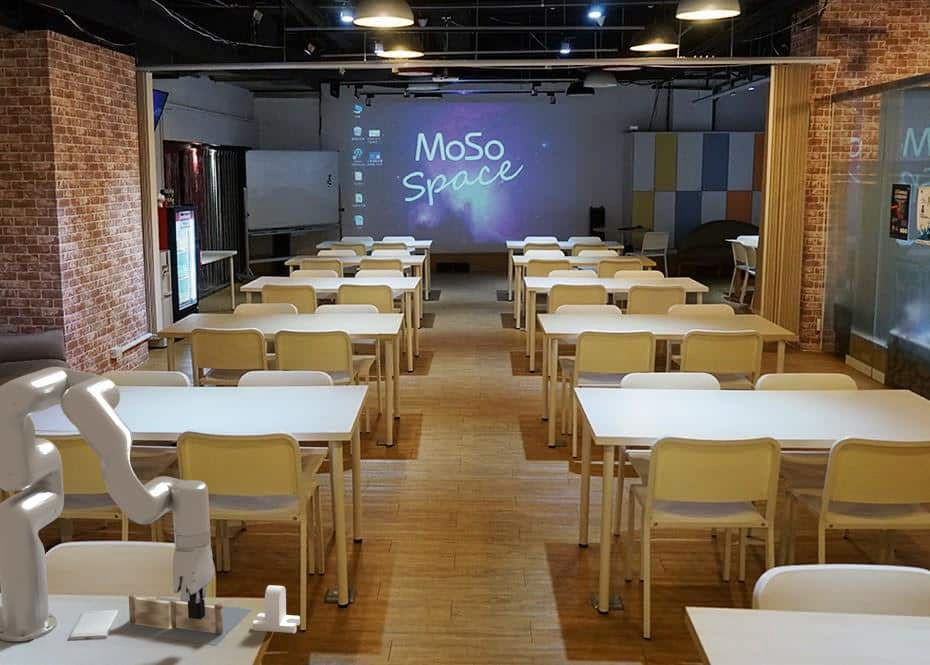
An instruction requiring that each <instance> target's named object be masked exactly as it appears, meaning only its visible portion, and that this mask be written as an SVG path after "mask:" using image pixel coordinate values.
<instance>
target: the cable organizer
mask: <svg viewBox="0 0 930 665" xmlns="http://www.w3.org/2000/svg"><path fill="white" fill-rule="evenodd" d="M286 593H287V590H286V587H285V585H284V586H283V585H270V584H269V585H268V586H267V587H266V589H265V594H264V612H260V613H258V614H257V615H256V619H253V621H252V630H253V631H257V632H258V631H259V632H260V631H262V632H275V633H276V632H277V633H289V634H290V633H292V634H293V635H294V634H296V633H297V626H300V625H301V616H300V615H291V614H287V594H286Z"/></svg>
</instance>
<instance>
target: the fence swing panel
mask: <svg viewBox="0 0 930 665" xmlns="http://www.w3.org/2000/svg"><path fill="white" fill-rule="evenodd" d="M176 600H177V599H175V600H172V601H171V602H170V603H171V627H173V628H174V627H177V628H184V629H191V630H198V631H205V632H212V633H216V634H221V633H223V614H222V607H223V606H224V605H223V603H221V602H220V603H215V604H214V605H215V606H212V605H205V616H204V617H203V618H202V619H191V618H189V617H188V602H182V601H176Z"/></svg>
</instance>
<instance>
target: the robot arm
mask: <svg viewBox="0 0 930 665" xmlns="http://www.w3.org/2000/svg"><path fill="white" fill-rule="evenodd" d="M120 400H121V393H120V389H119V387H118V386H117V384H116V383H115V382H113V380H111V379H110V378H108V377H107V376H103V375H99V374H95V373H91V372H87V371H82V370H81V371H80V370H78V369H74V368H68V367H61V366H50V367H47V368H46V367H45V368H43V369H39V370H37V371H34V372H31V373H28V374H27V373H26V374H25V375H22V376H20V377H17V378H13V379H11V380H10V381H7V382H6V383H3V384H1V385H0V489H1V490H3V491H5V492H8V493H15V494H13V495H11V496H10V497H7V498H6V499H5V500H3V501H2V502H1V503H0V598H1V605H0V640H2V641H5V642H15V643H17V642H27V641H31V640H32V641H33V640H35V639H39V638H41V637H44V636H46V635H48V634H50V633H51V632H52V631H53V630H55V628H56V627H57V624H58V622H57V617H56V616H55V615H54V614H52V613H50V611H49V597H48V596H49V594H48V592H49V591H48V579H47V578H48V577H47V576H48V574H47V561H46V551H45V547H44V544H43V542H42V541H41V539H40V537H39V531H40V530H42V529H43V528H44V527H46V526H47V525H49V524H50V523H52V522H53V521H55V520H57V518H59V516H60V515H61V514H62V512H63V509H64V504H65V502H64V501H65V493H64V473H63V461H62V456H61V453H60V450H59V449H58V448H57V446H56V445H55V444H54V443H53V442H52V441H50V440H48V439H46V438H42V437H36V428H35V424H34V423H33V420H32V418H31V417H30V416H31V415H33V414H36V413H37V414H38V413H40V412H42V411H45V410H47V409H50V408H52V407H55V406H57V405H60V408H61V412H63V415H64V416H65V417H66V418H67V420H68V421H69V422H70V423H71V425H72V426H73V427H74V428H75V429H76V431H77V432H78V433H79V435H81V437H82V438H83V440H85V442H86V443H87V444H88V446H89V447H90V448H91V449H92V451H93V453H95V455H96V456H97V457H98V459H99V463H100V470H101V475H102V479H103V483H104V485H105V489H106V490H107V492H108V494H109V496H110V497H111V499H112V500H113V502H115V504H116V505H117V506H118V508H119V509H120V510H121V511H122V513H123V514H124V515H126V517H127V518H128V519H129V520H131V521H133V522H135V523H136V524H139V525H149V524H151V523H153V522H155V521H157V519H159V518H161V517H162V516H163V515H164V514H166V513H168V512H170V511H172V519H173V520H172V521H173V536H174V539H173V540H174V548H175V549H174V551H173V559H172V590H173V593H174V594H177V593H179V592H180V596H179V598H180V599H179V600H181V601H186V602H188V617H189V618H191V619H202V618H203V617H204V616H205V604H206V602H205V598H206V591H207V590H206V588H207V586H208V584H210V581H211V580H212V579H213V577H214V560H213V557H214V556H213V550H212V545H211V544H212V542H211V522H210V520H211V519H210V505H209V504H210V502H209V488H208V485H207V484H206V483H205V482H203V481H202V480H199V479H198V480H196V479H189V480H184V479H179V478H175V477H172V476H165V475H164V476H163V475H161V476H157V477H155V478H153V479H151V480H150V481H148V482H147V483H145V484H143V483H142V482H141V481H140V480H139V479H138V477H137V475H136V473H135V472H134V470H133V468H132V465H131V464H132V463H131V458H130V454H131V449H132V445H133V440H134V433H133V432H132V430H131V429H130V428H129V427H128V425H127V424H126V423H125V422H124V421H123V419H122V418H121V417H120V416H119V414H118V413H117V411H116V410H115V409H116V408H117V406H118V405H119V403H120ZM16 492H17V493H16Z"/></svg>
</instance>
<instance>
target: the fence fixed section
mask: <svg viewBox="0 0 930 665" xmlns="http://www.w3.org/2000/svg"><path fill="white" fill-rule="evenodd" d="M155 599H156V598H155ZM155 599H153V598H147V597H146V598H145V597H138V594H135V593H134V594H129V596H128V610H129V612H128V613H129V620H130V623H131V624H135V623H137V624H144V625H152V626H159V627H166V628H169V627H170V626H171V612H170V601H162V600H155Z"/></svg>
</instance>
